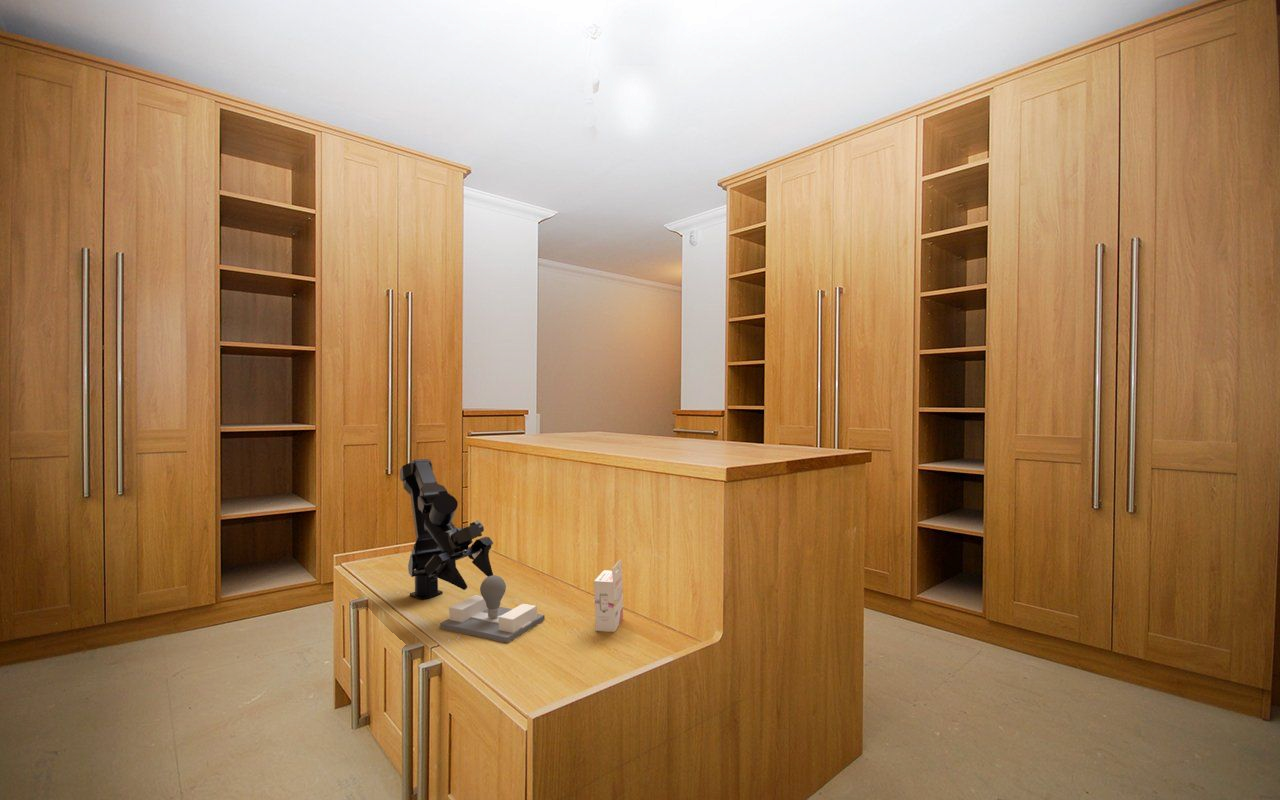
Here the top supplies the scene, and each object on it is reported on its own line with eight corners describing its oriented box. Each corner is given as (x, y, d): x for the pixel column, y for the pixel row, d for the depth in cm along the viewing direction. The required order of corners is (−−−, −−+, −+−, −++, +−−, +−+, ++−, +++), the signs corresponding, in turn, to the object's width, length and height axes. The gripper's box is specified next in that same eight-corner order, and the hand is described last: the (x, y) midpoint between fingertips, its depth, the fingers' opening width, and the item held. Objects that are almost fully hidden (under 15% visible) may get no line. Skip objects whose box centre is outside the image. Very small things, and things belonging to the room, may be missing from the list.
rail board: (440, 628, 130) (439, 610, 130) (480, 607, 143) (480, 591, 143) (507, 643, 122) (507, 624, 122) (544, 619, 135) (544, 602, 135)
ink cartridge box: (603, 617, 136) (603, 557, 136) (623, 618, 135) (622, 558, 135) (594, 631, 128) (593, 567, 128) (614, 632, 127) (614, 568, 127)
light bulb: (483, 612, 136) (483, 572, 136) (508, 612, 136) (507, 571, 136) (477, 622, 130) (477, 580, 130) (503, 621, 130) (503, 579, 130)
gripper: (433, 520, 128) (470, 573, 124) (487, 505, 145) (521, 552, 141) (408, 550, 132) (444, 603, 127) (464, 532, 148) (497, 578, 144)
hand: (479, 582), depth 135 cm, fingers open, 9 cm apart
